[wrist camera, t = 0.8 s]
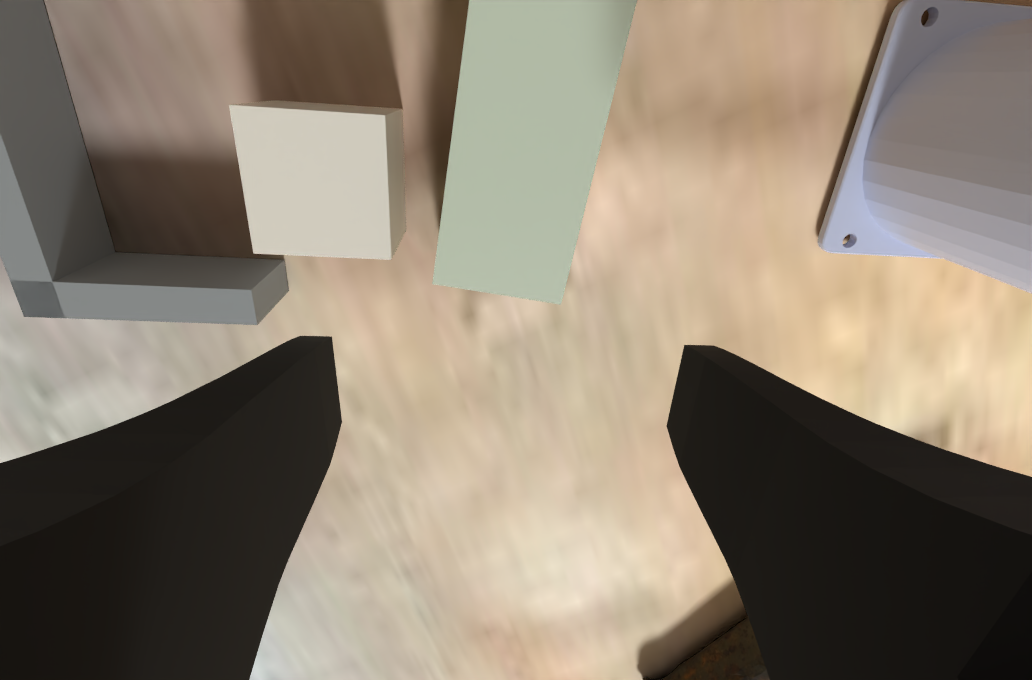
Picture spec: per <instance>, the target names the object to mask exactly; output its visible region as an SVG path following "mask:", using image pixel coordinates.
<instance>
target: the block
mask: <svg viewBox="0 0 1032 680" xmlns="http://www.w3.org/2000/svg"><path fill="white" fill-rule="evenodd" d="M229 108H230V114H231V120H232V126H233V132H234V138H235V144H236V150H237V156H238V163H239V169H240V175H241V181H242V187H243V193H244V199H245V205H246V211H247V217H248V223H249V230H250V236H251V242H252V248H253V254H275V255H297V256H319V257H342V258H364V259H386V260H391V259H392V258H393V256H394V254H395V252H396V250H397V248H398V246H399V244H400V242H401V240H402V238H403V236H404V234H405V232H406V201H405V167H404V132H403V109H400V108H385V107H370V106H355V105H340V104H326V103H311V102H296V101H281V100H272V101H262V102H252V103H243V104H233V105H229Z"/></svg>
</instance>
